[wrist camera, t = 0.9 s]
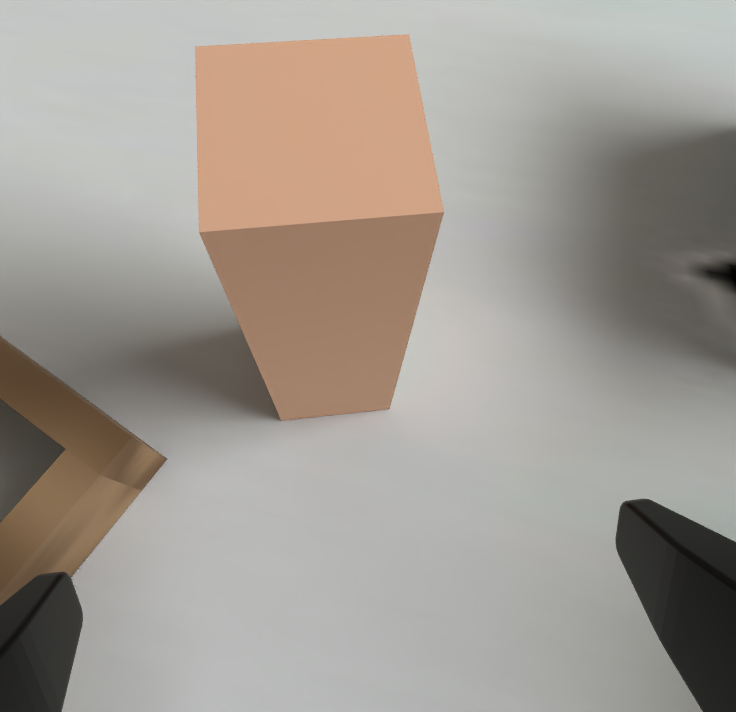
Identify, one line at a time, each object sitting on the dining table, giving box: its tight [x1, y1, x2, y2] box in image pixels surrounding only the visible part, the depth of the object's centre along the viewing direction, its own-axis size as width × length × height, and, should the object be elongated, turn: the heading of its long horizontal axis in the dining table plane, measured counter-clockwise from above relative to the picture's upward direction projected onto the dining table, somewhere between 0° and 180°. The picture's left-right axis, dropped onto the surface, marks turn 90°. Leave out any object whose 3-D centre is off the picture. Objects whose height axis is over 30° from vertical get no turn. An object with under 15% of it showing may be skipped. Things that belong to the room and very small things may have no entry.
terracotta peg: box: [195, 34, 444, 421], centre depth 18 cm, size 4×4×14 cm
